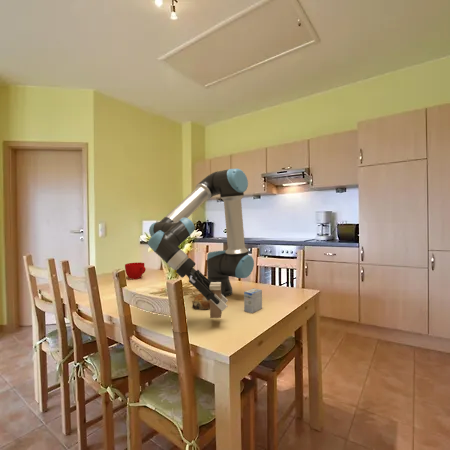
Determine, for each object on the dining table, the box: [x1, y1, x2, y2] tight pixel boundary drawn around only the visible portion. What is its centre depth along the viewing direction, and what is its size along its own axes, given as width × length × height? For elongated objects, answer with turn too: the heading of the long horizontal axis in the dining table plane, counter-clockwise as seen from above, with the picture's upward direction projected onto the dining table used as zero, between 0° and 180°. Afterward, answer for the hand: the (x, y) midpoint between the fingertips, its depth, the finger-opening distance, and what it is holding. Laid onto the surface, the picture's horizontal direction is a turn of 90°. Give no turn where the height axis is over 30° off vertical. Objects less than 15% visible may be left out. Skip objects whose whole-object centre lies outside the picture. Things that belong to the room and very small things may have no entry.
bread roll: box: [191, 293, 210, 311], centre depth 125 cm, size 10×10×8 cm
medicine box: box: [243, 288, 263, 314], centre depth 119 cm, size 8×4×9 cm, turn 141°
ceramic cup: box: [124, 262, 147, 280], centre depth 188 cm, size 13×17×10 cm
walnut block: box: [209, 282, 223, 319], centre depth 105 cm, size 6×4×12 cm, turn 178°
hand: (225, 305), depth 105 cm, fingers closed on walnut block, 6 cm apart
